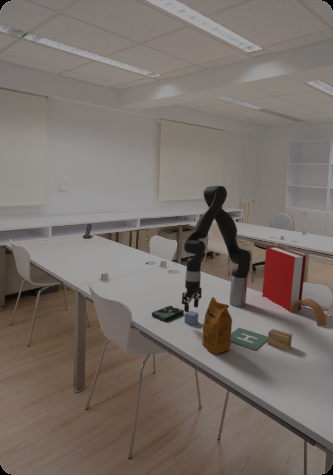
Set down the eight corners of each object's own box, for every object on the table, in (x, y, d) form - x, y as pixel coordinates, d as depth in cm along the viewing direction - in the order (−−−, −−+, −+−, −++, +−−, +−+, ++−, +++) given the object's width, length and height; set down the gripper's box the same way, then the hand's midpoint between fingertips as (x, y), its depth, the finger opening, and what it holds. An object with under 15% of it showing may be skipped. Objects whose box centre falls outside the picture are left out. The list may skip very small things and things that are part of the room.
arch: (297, 310, 203) (298, 294, 201) (325, 324, 185) (327, 306, 183) (289, 312, 200) (291, 295, 198) (317, 326, 183) (319, 308, 181)
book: (300, 310, 204) (306, 255, 198) (288, 311, 201) (294, 256, 195) (271, 294, 229) (275, 245, 223) (260, 295, 226) (264, 246, 220)
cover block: (271, 340, 165) (272, 328, 164) (290, 346, 160) (292, 334, 159) (267, 344, 161) (268, 332, 160) (287, 350, 156) (288, 338, 155)
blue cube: (189, 319, 186) (190, 310, 185) (197, 322, 183) (198, 313, 182) (184, 322, 182) (184, 313, 181) (192, 325, 179) (193, 316, 178)
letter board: (239, 328, 177) (239, 327, 177) (269, 338, 167) (269, 337, 167) (223, 339, 165) (223, 338, 164) (255, 350, 155) (255, 349, 155)
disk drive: (169, 310, 199) (151, 317, 188) (169, 305, 199) (151, 312, 188) (183, 315, 193) (165, 322, 182) (184, 310, 192) (166, 317, 181)
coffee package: (217, 339, 164) (220, 294, 160) (233, 352, 153) (236, 303, 149) (198, 343, 160) (201, 297, 156) (213, 356, 149) (216, 307, 145)
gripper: (194, 274, 186) (192, 303, 189) (178, 280, 175) (177, 311, 178) (206, 277, 182) (204, 307, 184) (191, 283, 170) (189, 315, 173)
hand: (191, 309), depth 181 cm, fingers open, 8 cm apart
